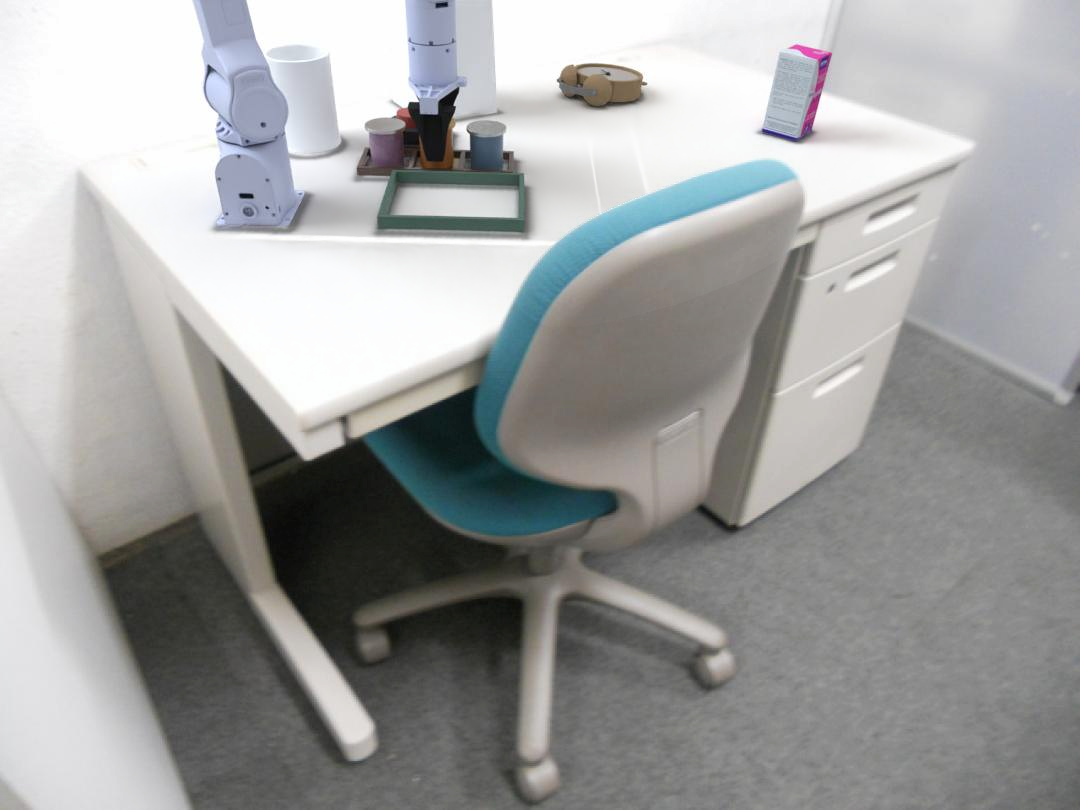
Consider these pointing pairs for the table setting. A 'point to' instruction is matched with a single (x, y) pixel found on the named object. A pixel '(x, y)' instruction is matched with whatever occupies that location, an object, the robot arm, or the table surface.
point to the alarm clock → (601, 83)
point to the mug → (306, 96)
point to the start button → (406, 117)
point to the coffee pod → (449, 155)
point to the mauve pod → (386, 142)
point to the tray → (451, 221)
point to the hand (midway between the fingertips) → (436, 152)
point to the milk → (471, 57)
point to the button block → (410, 137)
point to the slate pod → (486, 144)
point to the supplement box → (796, 92)
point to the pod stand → (458, 165)
